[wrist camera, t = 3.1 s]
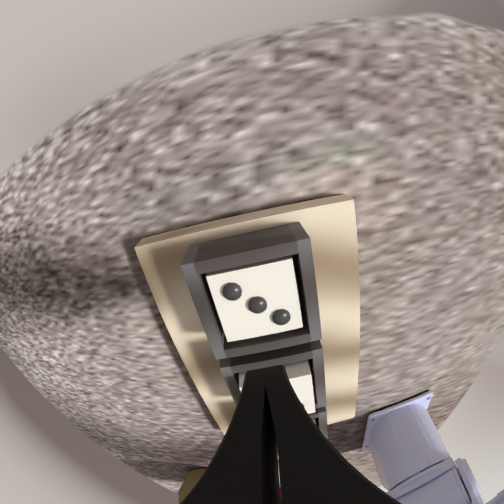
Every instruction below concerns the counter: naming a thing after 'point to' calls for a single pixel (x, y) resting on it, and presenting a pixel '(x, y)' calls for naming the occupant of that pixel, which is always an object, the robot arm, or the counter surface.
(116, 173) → the counter surface
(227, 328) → the tile three
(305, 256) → the tile board
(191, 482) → the squeeze bottle
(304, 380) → the tile two
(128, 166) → the counter surface
